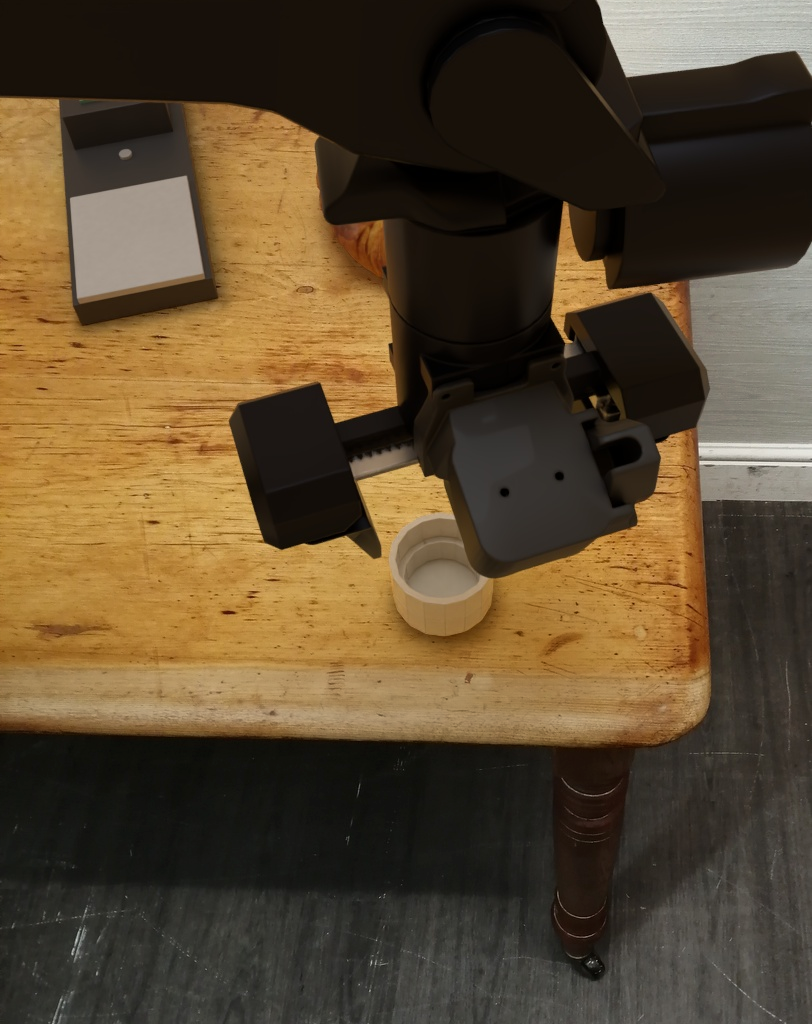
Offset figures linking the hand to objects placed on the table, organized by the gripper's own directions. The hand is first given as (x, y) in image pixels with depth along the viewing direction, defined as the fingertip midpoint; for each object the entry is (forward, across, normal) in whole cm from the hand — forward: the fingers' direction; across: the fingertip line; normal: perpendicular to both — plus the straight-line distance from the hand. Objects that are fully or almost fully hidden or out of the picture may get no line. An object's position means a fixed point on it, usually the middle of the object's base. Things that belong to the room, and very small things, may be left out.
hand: (466, 522), depth 47 cm
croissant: (+12, +8, +34) cm, 37 cm away
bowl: (+12, 0, +3) cm, 12 cm away
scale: (+12, -12, +44) cm, 48 cm away
